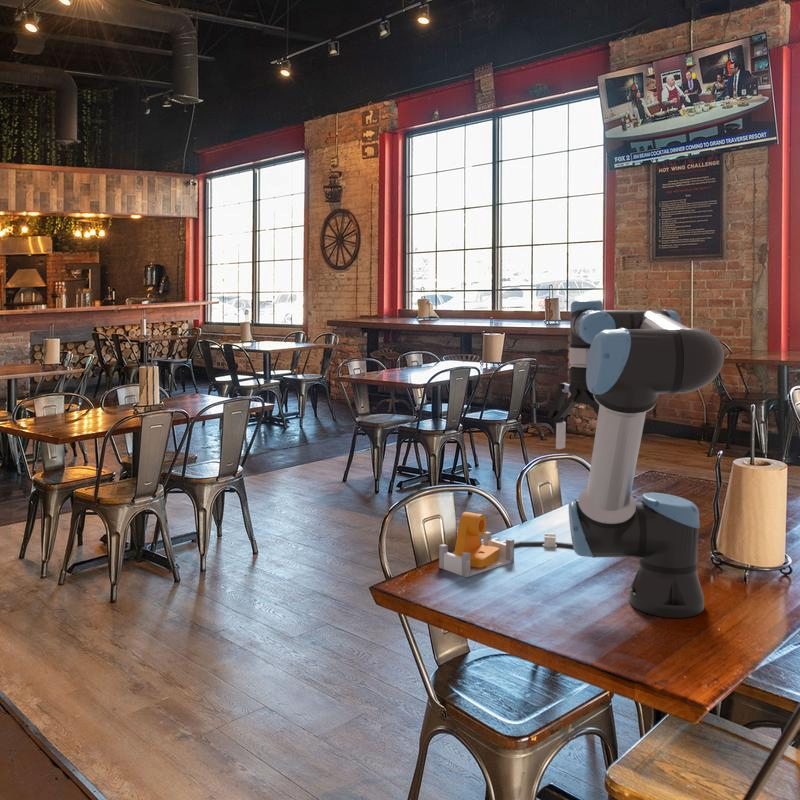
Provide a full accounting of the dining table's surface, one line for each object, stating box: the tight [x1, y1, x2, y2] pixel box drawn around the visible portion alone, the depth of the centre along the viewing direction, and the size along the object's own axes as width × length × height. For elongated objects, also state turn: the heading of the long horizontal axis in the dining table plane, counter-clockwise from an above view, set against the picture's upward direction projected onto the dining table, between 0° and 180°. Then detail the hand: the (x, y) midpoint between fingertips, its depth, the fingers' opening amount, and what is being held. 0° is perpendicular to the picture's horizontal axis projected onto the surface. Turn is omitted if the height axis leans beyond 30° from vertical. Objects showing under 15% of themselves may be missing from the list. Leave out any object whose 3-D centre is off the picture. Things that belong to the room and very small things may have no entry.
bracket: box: [453, 511, 499, 568], centre depth 202 cm, size 11×7×12 cm
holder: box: [438, 531, 515, 578], centre depth 203 cm, size 9×17×6 cm, turn 131°
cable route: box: [492, 532, 573, 549], centre depth 216 cm, size 6×23×3 cm, turn 100°
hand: (582, 452), depth 203 cm, fingers open, 13 cm apart
